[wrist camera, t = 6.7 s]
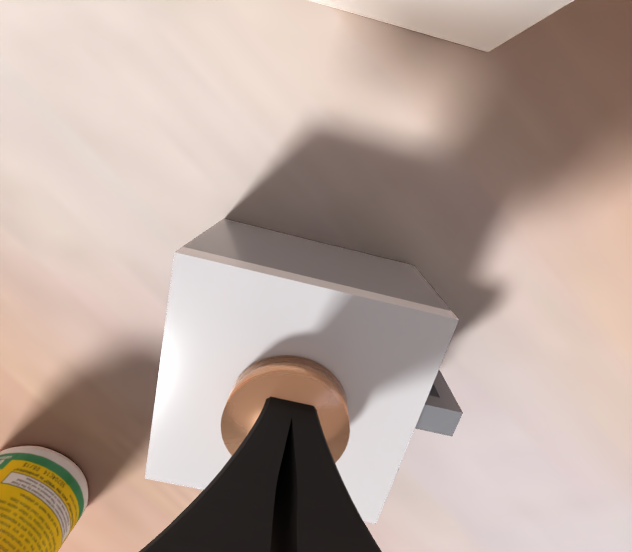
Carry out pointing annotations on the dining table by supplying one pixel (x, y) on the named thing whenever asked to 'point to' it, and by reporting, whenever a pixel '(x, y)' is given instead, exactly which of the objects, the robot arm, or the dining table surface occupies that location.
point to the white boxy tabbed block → (299, 350)
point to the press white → (456, 17)
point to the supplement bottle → (38, 499)
